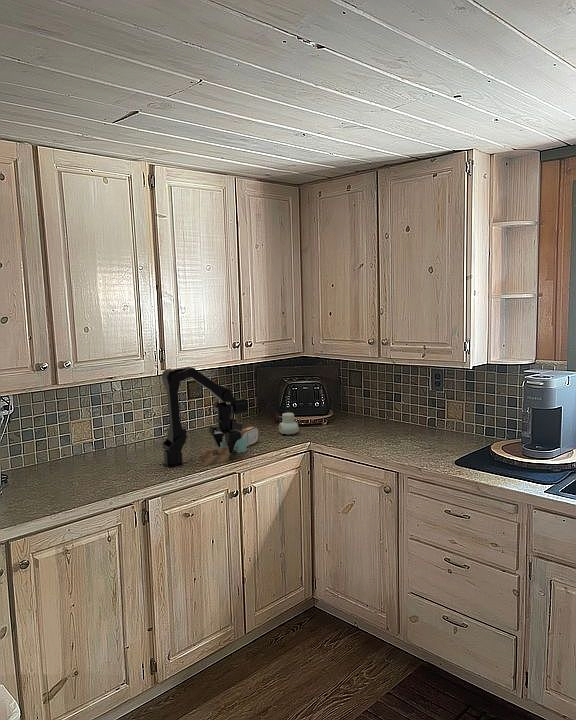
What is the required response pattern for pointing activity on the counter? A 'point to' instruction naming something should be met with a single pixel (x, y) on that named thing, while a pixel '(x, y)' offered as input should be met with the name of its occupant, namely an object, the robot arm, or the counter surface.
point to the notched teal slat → (237, 445)
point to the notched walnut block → (209, 459)
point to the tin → (250, 435)
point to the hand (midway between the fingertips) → (225, 451)
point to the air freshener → (288, 424)
